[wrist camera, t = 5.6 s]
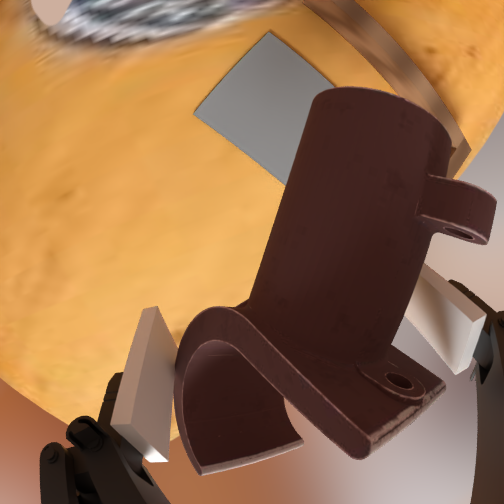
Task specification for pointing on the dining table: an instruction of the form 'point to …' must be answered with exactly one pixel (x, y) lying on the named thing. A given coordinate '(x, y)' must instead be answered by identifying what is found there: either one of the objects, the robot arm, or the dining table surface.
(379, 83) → the dining table surface
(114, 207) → the dining table surface
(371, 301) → the bracket
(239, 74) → the mat
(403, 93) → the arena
